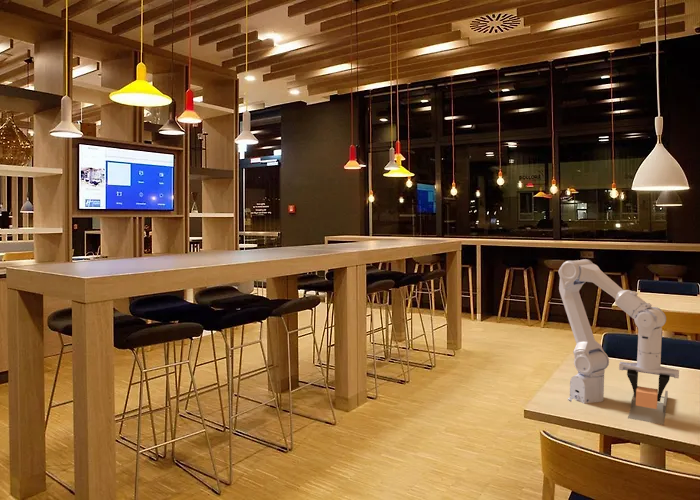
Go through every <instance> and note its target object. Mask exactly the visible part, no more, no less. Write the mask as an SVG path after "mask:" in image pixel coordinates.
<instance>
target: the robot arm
mask: <svg viewBox="0 0 700 500" xmlns="http://www.w3.org/2000/svg"><path fill="white" fill-rule="evenodd" d="M557 272H558V275H559V276H558V277H559V284H558V285H559V286H558V290H559V291H558V292H559V294H560V298H561V301H562V303H563V306H564V310H565V313H566V315H567V319H568V323H569V326H570V327H571V332H572V334H573V338H574V341H575V347H574V349H573V351H572V352H573V356H574V359H573V365H574V367H575V369H576V371H577V374H575V375H573V376H572V377H571V378H570V382H569V397H567V400H568V401H573V400H575V401H577V402H579V403H582V404H585V405H587V404H591V403H600V402H601V403H602V402H604V396H605V395H604V394H605V392H604V391H605V371H606V369H607V368H608V366H609V365H610V358H609V356H608V354H607V353H606V352H605V351H604V349H603V347H602V345H601V344H600V343H599V342H598V341H596V339H595V336H594V333H593V330H592V327H591V323H590V321H589V319H588V316H587V311H586V309H585V306H584V303H583V301H582V298H581V294H580V290H581V289H582V287H583V285H584V284H586V282H587V283H593V284H594V285H595V286H597V287H599V288H600V289H601V290H602V291H604V292H606V293H607V294H608V295H610V296H611V297H612V298H613V299H614V302H615V305H616V306H617V308H619V309H621V310H622V311H623V312H624V313H626V315H628V316H629V317H630V318H632V319H633V321H634V324H635V326H636V327H637V355H636V356H637V357H636V362H625V361H619V363H618V366H619V367H618V370H619V371H626V376H627V378H628V380H629V381H630V382H629V383H630V385H631V388H632V391H633V392H632V393H633V394H634V397H635V398H636V390H637V386H638V379H639V373H643V374H650V375H656V376H658V388H657V389H658V397H657V402H659V403H661V398H662V397H661V396H663V393H664V390H665V388H666V387H667V384H668V383H669V381H670V378H674V379H679V378H680V370H679V369H675V368H672V367H671V368H669V367H666V366H661V363H662V362H661V360H662V359H661V358H662V338H663V337H662V334H663V333H662V331H663V326H664V325H665V324H666V323H667V316H666V314H665V312H664V311H663V310H662V309H661V308H659V307H657V306H652V305H653V304H651V303H649V302H647V301H645V300H644V299H642V298H641V297H640V296H638V294H639V293H638V292H637V291H636V290H630V289H623V288H622V287H621V286H619V284H617V283H616V282H615V281H614V280H612V279H611V277H610V276H608V275H607V274H606V273H605V272H603V271H602V270H601V269H600V267H599V266H598V265H597V264H595V263H593V261H592V260H591V259H586V258H585V259H584V258H583V259H580V260H579V259H577V260H576V259H575V260H565V261H564V262H563V263H562V264H561V266H560V267H559V269H558V271H557Z"/></svg>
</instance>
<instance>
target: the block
mask: <svg viewBox="0 0 700 500" xmlns="http://www.w3.org/2000/svg"><path fill="white" fill-rule="evenodd" d="M657 397H658V388H652V387H646V386H640V385H639V386H638V385H637V390H636V406H642V407H648V408H653V409H657V402H658V401H657Z"/></svg>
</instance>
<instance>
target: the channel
mask: <svg viewBox="0 0 700 500" xmlns="http://www.w3.org/2000/svg"><path fill="white" fill-rule="evenodd" d="M668 394H669V392H668V390H665V392H664V396H663V395H661V398H662V399H663V402H658V401H657V409H653V408H648V407H642V406H636V398H635V397H634V393H633V394H632V398H631V403H630V404H631V405H630V410H629V413H628V416H627V419H631V420H636V421H640V422H647V423H653V424H656V425H657V424H658V425H665V418H666V410H667V404H668V396H669V395H668Z"/></svg>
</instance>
